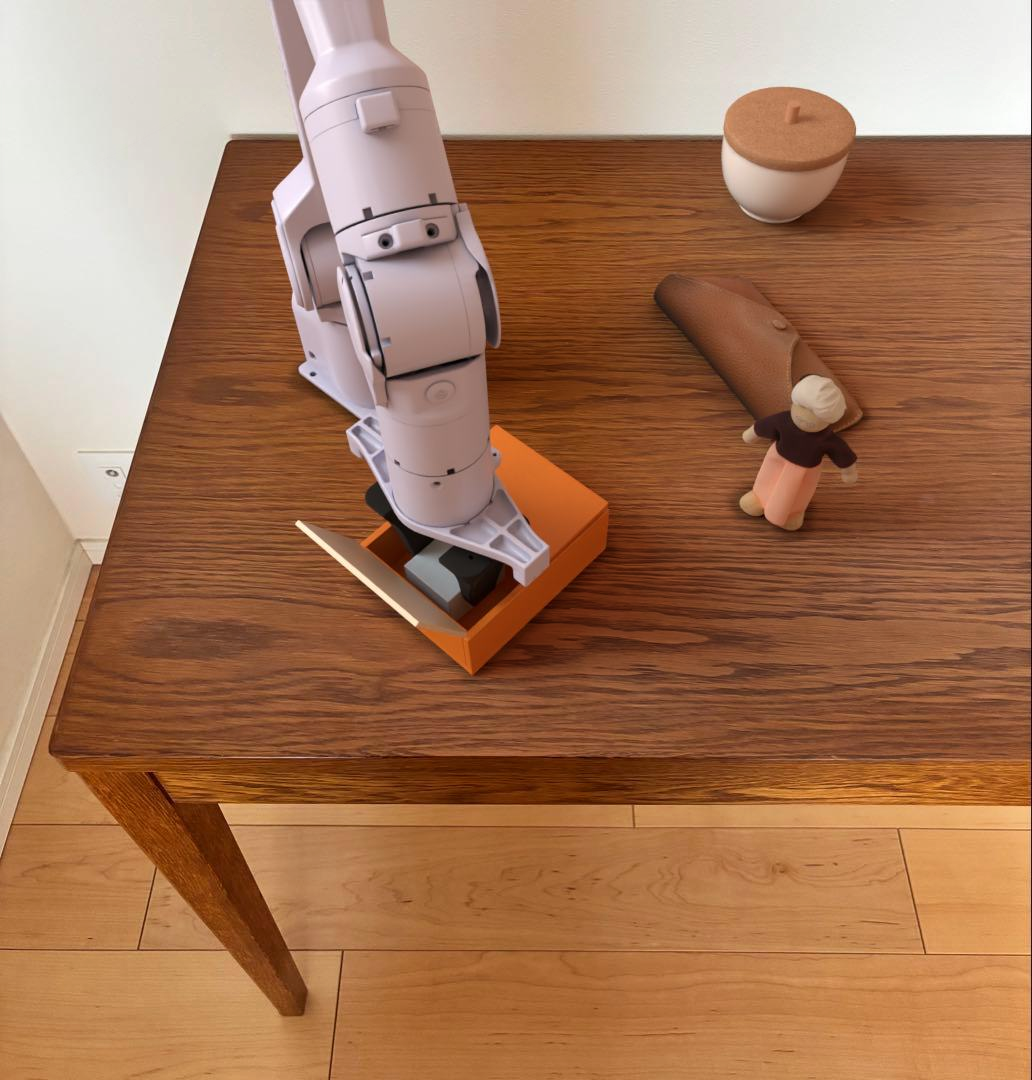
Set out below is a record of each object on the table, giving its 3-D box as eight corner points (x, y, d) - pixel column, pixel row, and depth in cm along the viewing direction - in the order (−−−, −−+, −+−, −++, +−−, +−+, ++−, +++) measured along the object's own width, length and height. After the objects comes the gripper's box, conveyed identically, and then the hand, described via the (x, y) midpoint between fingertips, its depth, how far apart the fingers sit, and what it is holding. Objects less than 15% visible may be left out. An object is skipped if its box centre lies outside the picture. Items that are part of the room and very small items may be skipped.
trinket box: (713, 161, 91) (729, 63, 83) (831, 169, 90) (858, 70, 82) (710, 236, 85) (726, 138, 77) (836, 245, 84) (866, 146, 76)
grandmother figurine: (719, 517, 68) (752, 391, 58) (732, 476, 70) (765, 347, 60) (831, 548, 67) (885, 423, 56) (841, 505, 69) (895, 377, 58)
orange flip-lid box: (472, 675, 62) (467, 635, 57) (365, 585, 66) (353, 540, 61) (606, 548, 67) (610, 502, 63) (499, 471, 71) (496, 423, 67)
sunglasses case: (874, 414, 73) (857, 375, 67) (796, 474, 74) (773, 441, 69) (737, 270, 82) (712, 225, 76) (670, 326, 83) (641, 286, 78)
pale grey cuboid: (452, 626, 63) (448, 602, 60) (408, 590, 64) (403, 565, 62) (505, 577, 65) (504, 551, 62) (462, 543, 66) (459, 517, 64)
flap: (468, 633, 57) (464, 638, 57) (355, 540, 61) (352, 544, 61) (419, 621, 52) (415, 627, 52) (298, 519, 56) (294, 524, 56)
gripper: (589, 462, 51) (581, 598, 62) (397, 331, 57) (421, 477, 68) (495, 546, 48) (504, 673, 59) (303, 398, 54) (344, 539, 65)
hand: (455, 573), depth 63 cm, fingers closed on pale grey cuboid, 4 cm apart
